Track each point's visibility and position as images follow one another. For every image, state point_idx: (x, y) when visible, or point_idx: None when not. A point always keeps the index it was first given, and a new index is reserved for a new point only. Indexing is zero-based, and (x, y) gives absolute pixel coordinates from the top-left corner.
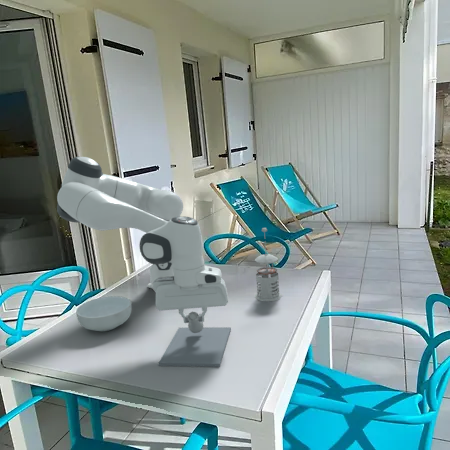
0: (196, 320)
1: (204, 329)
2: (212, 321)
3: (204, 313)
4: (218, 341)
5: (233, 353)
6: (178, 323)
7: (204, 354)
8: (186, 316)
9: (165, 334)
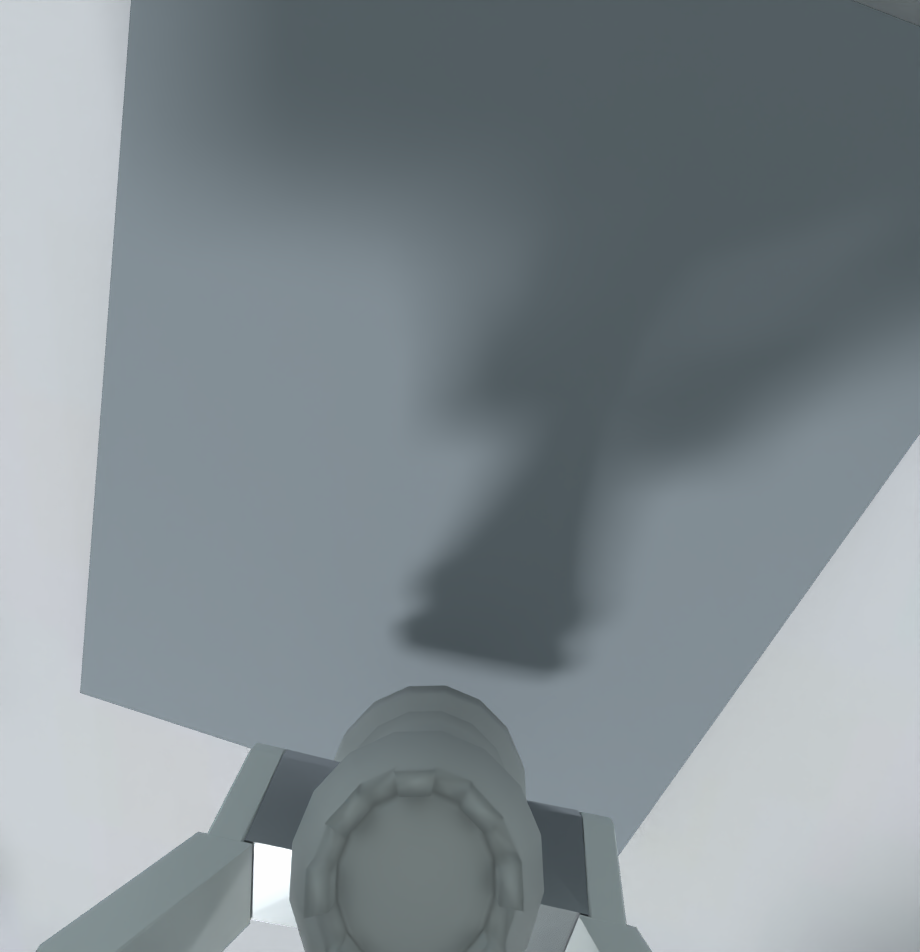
0: (366, 760)
1: None
2: None
3: (149, 887)
4: (197, 455)
5: (17, 148)
6: None
7: (386, 166)
8: (552, 940)
9: (764, 817)
